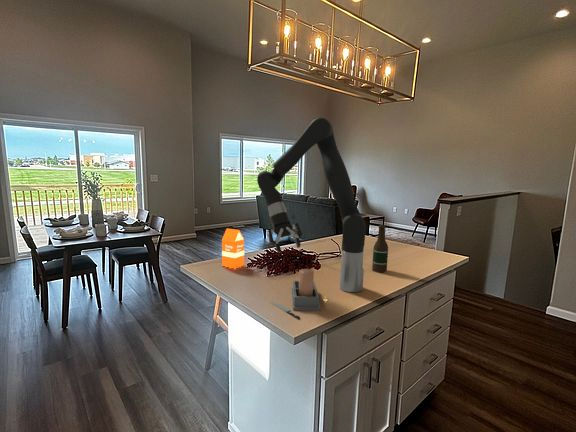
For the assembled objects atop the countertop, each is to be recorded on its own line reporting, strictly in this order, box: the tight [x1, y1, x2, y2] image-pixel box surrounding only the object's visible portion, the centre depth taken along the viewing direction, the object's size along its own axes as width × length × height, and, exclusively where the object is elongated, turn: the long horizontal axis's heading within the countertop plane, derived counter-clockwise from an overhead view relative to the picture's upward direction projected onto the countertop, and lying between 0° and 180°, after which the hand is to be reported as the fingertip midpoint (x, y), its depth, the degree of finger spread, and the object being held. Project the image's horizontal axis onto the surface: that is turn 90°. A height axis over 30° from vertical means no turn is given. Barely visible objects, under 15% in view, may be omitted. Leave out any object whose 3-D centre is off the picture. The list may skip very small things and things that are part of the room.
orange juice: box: [221, 228, 245, 270], centre depth 162 cm, size 8×9×20 cm
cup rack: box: [291, 280, 321, 312], centre depth 123 cm, size 10×20×4 cm, turn 1°
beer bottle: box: [371, 224, 389, 274], centre depth 160 cm, size 8×8×24 cm
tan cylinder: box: [298, 268, 315, 297], centre depth 118 cm, size 6×6×12 cm
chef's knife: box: [269, 301, 301, 320], centre depth 114 cm, size 19×1×3 cm
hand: (289, 250), depth 130 cm, fingers open, 8 cm apart
